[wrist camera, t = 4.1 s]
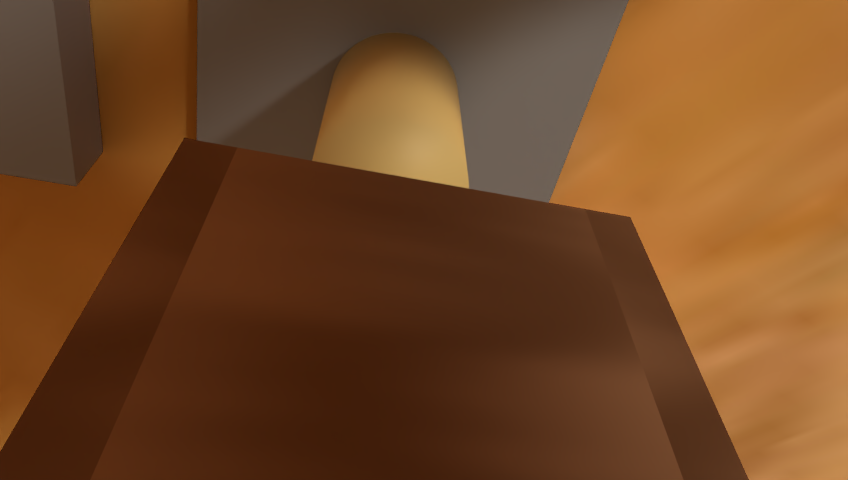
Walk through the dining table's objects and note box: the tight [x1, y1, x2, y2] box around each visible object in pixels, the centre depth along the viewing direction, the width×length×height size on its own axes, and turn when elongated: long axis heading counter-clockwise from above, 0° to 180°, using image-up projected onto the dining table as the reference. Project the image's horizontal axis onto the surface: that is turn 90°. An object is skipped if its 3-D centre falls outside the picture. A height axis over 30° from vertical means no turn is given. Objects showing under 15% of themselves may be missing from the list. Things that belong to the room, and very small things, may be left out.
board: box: [197, 0, 628, 203], centre depth 17 cm, size 11×11×6 cm
